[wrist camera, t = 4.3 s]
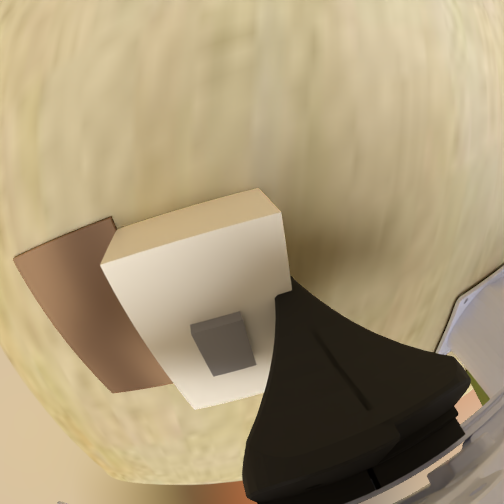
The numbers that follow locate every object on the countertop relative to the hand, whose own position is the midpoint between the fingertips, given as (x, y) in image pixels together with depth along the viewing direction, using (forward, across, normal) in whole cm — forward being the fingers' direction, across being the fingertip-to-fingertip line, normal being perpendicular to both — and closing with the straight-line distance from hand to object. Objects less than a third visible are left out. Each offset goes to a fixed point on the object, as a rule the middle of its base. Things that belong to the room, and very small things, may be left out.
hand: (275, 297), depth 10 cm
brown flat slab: (+1, +7, 0) cm, 7 cm away
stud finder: (+1, +2, 0) cm, 2 cm away
